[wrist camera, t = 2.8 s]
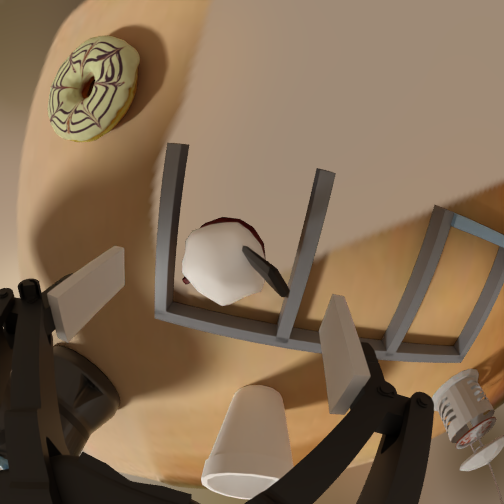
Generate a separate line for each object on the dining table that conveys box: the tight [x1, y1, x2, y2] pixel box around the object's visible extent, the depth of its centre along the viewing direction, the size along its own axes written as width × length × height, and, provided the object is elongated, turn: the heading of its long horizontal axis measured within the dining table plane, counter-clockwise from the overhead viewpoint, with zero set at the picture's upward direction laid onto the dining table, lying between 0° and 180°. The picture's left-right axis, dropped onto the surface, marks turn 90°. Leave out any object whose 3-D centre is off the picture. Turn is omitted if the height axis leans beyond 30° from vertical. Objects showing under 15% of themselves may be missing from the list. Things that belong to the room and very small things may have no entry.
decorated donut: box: [48, 36, 140, 142], centre depth 18 cm, size 10×11×4 cm
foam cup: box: [201, 385, 293, 499], centre depth 25 cm, size 10×9×13 cm
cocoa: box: [182, 217, 290, 306], centre depth 19 cm, size 10×6×12 cm, turn 99°
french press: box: [432, 369, 504, 504], centre depth 18 cm, size 10×12×25 cm
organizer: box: [155, 143, 504, 363], centre depth 23 cm, size 37×17×2 cm, turn 80°
